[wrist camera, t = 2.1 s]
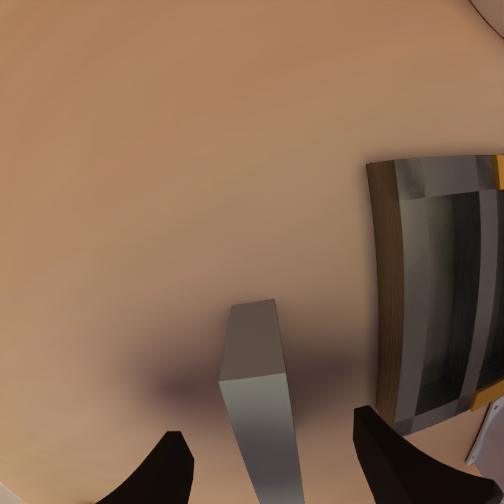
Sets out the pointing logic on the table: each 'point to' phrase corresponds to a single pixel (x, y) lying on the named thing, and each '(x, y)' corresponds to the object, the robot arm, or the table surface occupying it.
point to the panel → (261, 402)
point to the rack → (438, 286)
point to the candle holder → (492, 13)
